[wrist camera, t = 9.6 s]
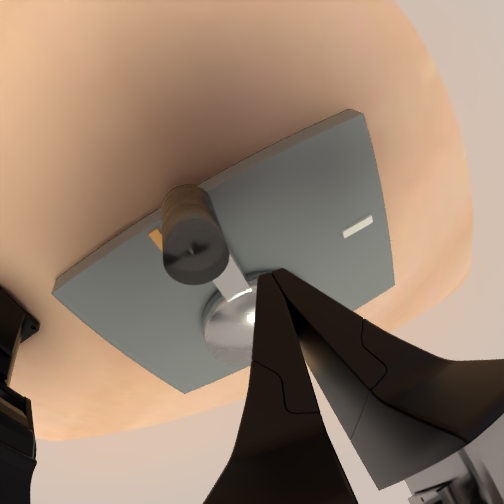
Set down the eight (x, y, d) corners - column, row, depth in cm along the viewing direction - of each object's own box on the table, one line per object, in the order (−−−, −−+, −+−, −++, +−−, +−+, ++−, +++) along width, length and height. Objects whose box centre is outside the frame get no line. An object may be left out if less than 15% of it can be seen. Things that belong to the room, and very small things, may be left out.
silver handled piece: (319, 320, 24) (344, 364, 20) (232, 362, 24) (246, 410, 20) (246, 149, 14) (278, 183, 10) (111, 224, 14) (96, 282, 11)
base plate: (182, 381, 27) (184, 395, 26) (56, 279, 17) (50, 295, 16) (385, 275, 26) (396, 286, 24) (349, 108, 16) (365, 114, 15)
